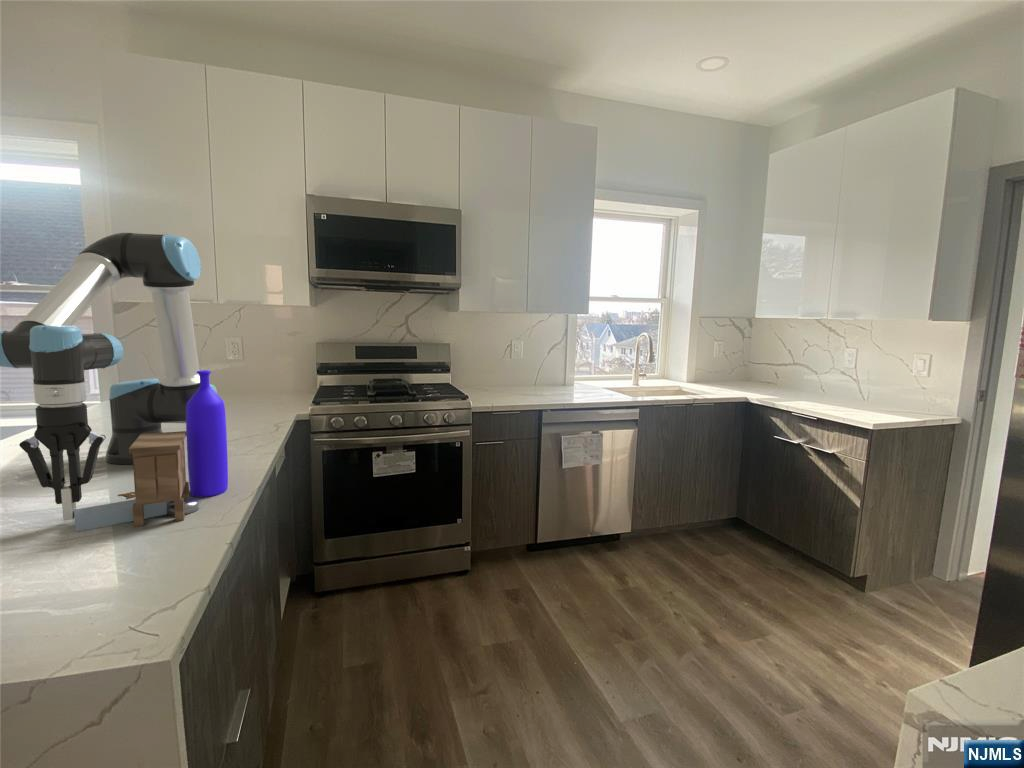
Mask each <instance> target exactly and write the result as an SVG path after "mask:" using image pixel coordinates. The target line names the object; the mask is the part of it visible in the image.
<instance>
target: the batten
mask: <svg viewBox="0 0 1024 768" xmlns="http://www.w3.org/2000/svg"><path fill="white" fill-rule="evenodd" d="M134 503H136V500H135V498H133V499H127V500H124V501H123V500H122V501H117V502H112V503H111V502H110V503H105V504H101V505H93V506H87V507H82V508H76V509H75V510H74V519H73V520H74V529H75V533H76V532H82V531H88V530H93V529H98V528H104V527H107V526H108V527H109V526H113V525H119V524H124V523H130V522H134V517H133V504H134ZM167 503H168V502H160V503H152V504H143V507H144V520H145V519H150V517H151V518H154V517H155V516H156V517H160V516H161V517H162V516H166V515H167Z"/></svg>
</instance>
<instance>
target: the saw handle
mask: <svg viewBox="0 0 1024 768" xmlns="http://www.w3.org/2000/svg"><path fill="white" fill-rule="evenodd" d="M121 496H122V497H124V498H125V500H131V499H135V491H130V492H126V493H121V494H117V497H121Z"/></svg>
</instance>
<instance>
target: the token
mask: <svg viewBox="0 0 1024 768" xmlns="http://www.w3.org/2000/svg"><path fill="white" fill-rule="evenodd" d="M199 510H200V500H199V498H198V497H189V498H184V516H187V515H192V514H194V513H196V512H197V511H199ZM191 513H192V514H191ZM167 514H168V515H167ZM167 514H166V515H167V516H169V517H170V516H171V517H175V506H174V501H169V502H167Z"/></svg>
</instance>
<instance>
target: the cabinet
mask: <svg viewBox="0 0 1024 768" xmlns="http://www.w3.org/2000/svg"><path fill="white" fill-rule="evenodd" d="M186 439H187V435H186V430H183V431H182V430H181V431H167V432H163V433H148V434H140V436H139V437H138V438H137V439H136V440H135V442H134V443H133V444H132V445H131V446H130V448H129V454H132V453H133V464H132V467H133V480H134V482H133V483H134V485H133V486H134V492H135V494H134V495H135V497H134V499H135V500H136V503H134V504H133V517H134V521H133V527H134V528H135V527H143V526H144V524H145V519H144V507H143V504H152V503H160V502H167V503H168V502H170V501H174V506H175V516H174V520H175V522H180V521H184V520H185V518H186V517H185V515H184V498H190V486H189V481H187V475H186V455H185V440H186Z"/></svg>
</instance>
